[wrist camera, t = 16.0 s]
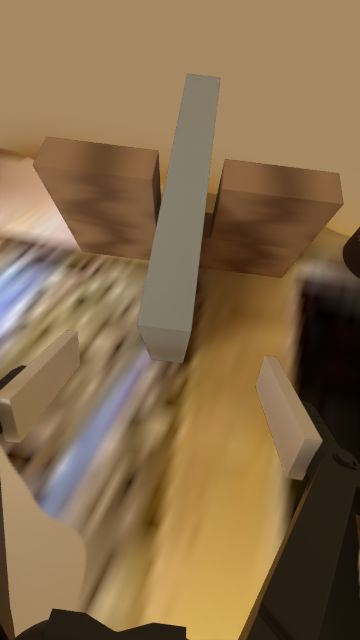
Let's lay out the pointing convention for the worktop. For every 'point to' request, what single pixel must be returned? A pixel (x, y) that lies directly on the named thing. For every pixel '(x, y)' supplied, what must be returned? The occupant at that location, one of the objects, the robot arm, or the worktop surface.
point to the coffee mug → (353, 253)
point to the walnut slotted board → (220, 226)
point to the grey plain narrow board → (180, 226)
